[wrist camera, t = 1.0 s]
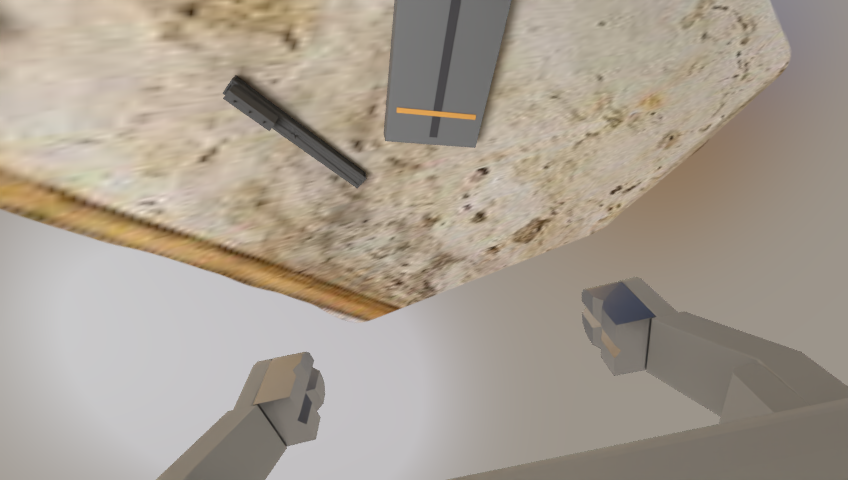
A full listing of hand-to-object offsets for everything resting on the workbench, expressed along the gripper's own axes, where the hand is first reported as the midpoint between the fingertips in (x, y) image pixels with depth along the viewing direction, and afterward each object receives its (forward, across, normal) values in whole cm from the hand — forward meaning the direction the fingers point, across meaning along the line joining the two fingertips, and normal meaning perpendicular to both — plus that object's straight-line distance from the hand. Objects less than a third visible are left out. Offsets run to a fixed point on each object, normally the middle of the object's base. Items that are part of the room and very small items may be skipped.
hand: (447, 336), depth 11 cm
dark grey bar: (+40, +13, -1) cm, 42 cm away
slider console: (+39, -6, -7) cm, 40 cm away
